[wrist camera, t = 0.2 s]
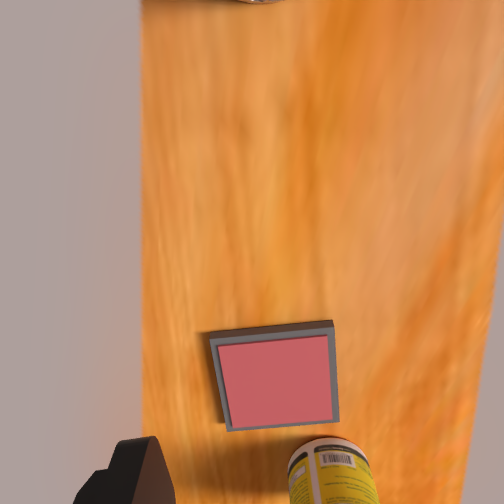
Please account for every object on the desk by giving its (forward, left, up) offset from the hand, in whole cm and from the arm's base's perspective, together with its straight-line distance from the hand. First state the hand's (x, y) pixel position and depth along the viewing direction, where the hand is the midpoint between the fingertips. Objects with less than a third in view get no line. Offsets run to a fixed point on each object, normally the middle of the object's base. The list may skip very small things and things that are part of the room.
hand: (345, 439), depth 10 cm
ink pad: (+13, -2, -18) cm, 22 cm away
